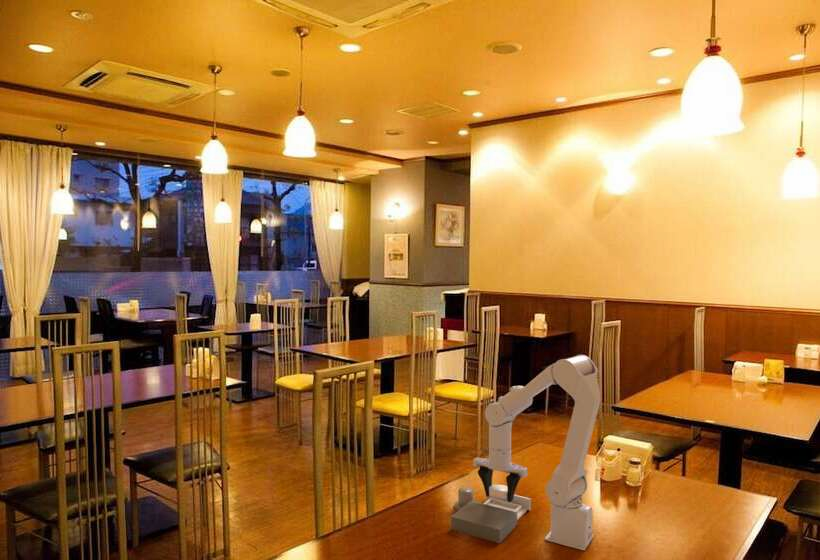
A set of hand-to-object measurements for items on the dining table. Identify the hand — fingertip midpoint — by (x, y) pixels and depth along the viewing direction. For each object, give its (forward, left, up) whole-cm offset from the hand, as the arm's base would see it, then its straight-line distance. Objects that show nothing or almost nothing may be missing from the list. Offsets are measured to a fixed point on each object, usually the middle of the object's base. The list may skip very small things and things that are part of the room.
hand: (499, 497), depth 152 cm
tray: (0, 0, -4) cm, 4 cm away
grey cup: (+9, +1, -4) cm, 10 cm away
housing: (0, +9, -4) cm, 10 cm away
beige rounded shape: (0, 0, +1) cm, 1 cm away
